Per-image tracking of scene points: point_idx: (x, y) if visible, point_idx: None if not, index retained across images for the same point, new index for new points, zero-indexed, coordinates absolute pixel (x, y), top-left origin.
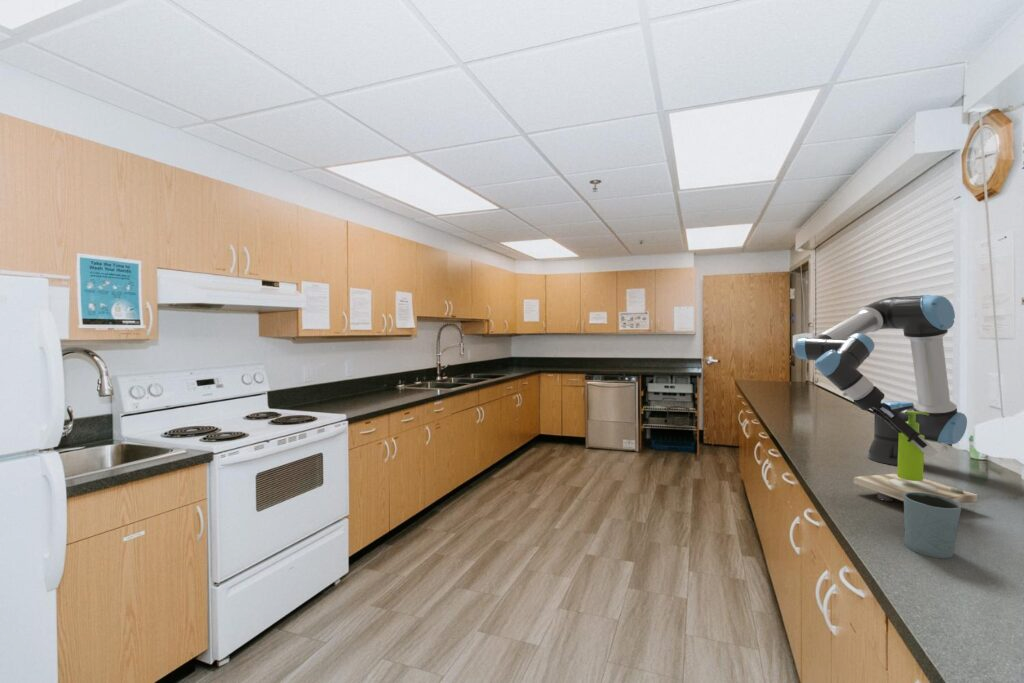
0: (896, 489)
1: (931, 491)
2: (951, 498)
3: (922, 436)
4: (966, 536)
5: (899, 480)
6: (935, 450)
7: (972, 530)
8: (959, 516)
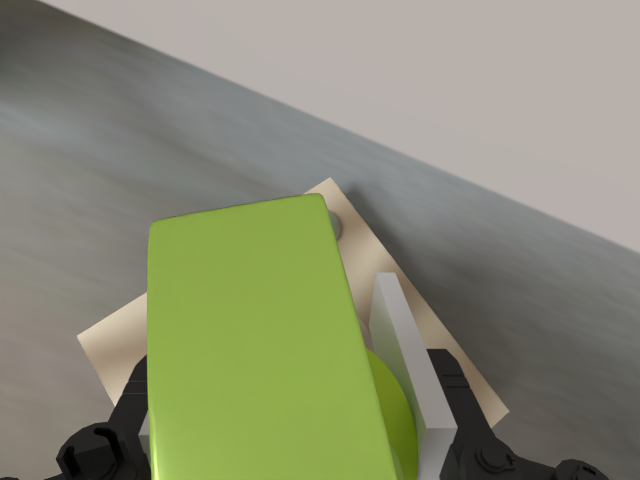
0: None
1: (365, 326)
2: (406, 278)
3: (375, 363)
4: (572, 319)
5: None
6: (400, 288)
7: (508, 282)
8: None
